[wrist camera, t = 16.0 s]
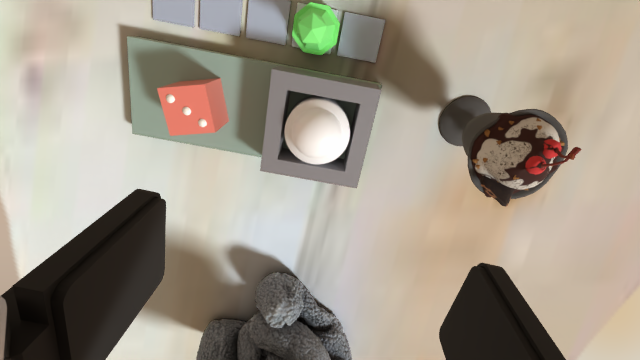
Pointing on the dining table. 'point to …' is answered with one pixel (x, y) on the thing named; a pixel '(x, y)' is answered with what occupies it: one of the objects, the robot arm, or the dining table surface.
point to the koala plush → (278, 328)
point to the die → (194, 106)
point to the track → (271, 23)
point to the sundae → (506, 147)
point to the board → (251, 105)
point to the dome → (317, 130)
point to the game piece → (315, 28)
